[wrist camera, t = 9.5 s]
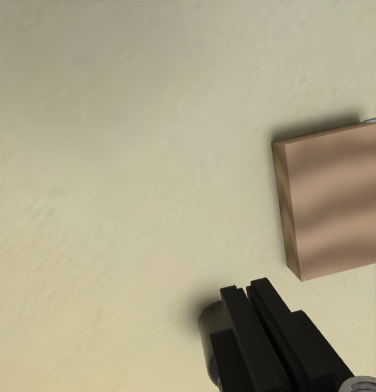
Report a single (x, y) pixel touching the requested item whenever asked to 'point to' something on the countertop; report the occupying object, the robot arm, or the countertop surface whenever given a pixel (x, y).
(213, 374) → the supplement bottle
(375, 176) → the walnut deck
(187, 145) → the countertop surface
